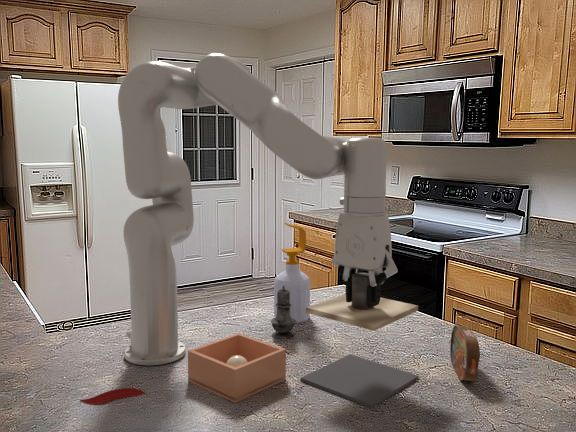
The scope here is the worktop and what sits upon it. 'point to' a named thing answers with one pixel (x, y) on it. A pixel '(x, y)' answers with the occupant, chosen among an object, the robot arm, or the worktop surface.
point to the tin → (464, 353)
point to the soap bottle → (294, 281)
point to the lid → (362, 307)
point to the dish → (236, 366)
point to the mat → (360, 380)
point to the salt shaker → (283, 317)
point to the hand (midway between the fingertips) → (362, 302)
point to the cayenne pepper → (113, 396)
